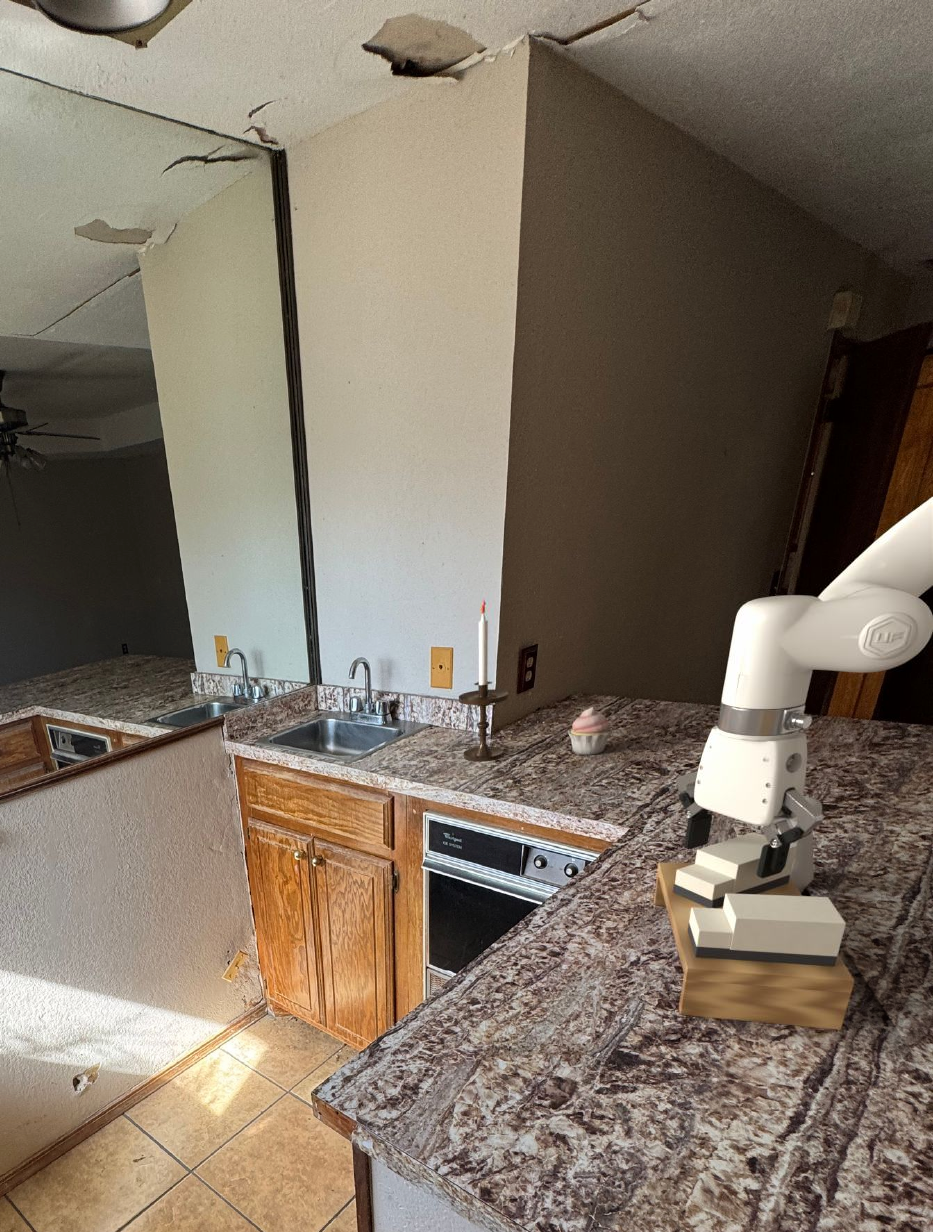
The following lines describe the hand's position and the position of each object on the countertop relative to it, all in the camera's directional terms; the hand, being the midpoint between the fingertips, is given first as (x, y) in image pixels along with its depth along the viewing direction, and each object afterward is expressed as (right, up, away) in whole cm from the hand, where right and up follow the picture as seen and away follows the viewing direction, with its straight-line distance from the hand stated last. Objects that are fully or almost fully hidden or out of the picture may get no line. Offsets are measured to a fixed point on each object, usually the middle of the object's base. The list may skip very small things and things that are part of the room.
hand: (730, 859), depth 83 cm
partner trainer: (-4, -10, -10) cm, 15 cm away
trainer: (+1, -3, +2) cm, 4 cm away
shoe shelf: (0, -11, -1) cm, 12 cm away
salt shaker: (+14, -4, +11) cm, 18 cm away
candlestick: (-4, +28, +81) cm, 86 cm away
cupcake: (+17, +28, +74) cm, 81 cm away
